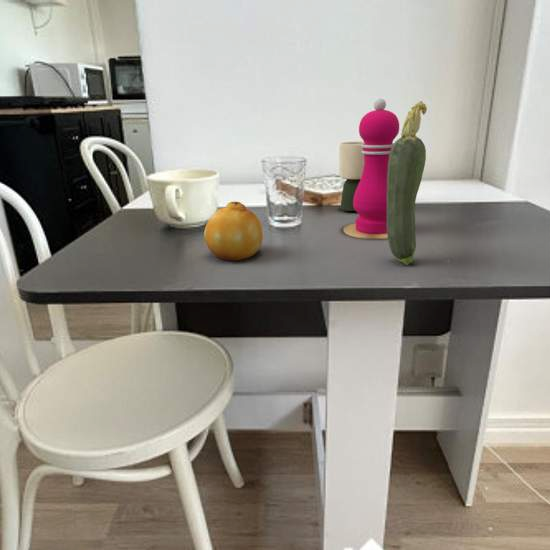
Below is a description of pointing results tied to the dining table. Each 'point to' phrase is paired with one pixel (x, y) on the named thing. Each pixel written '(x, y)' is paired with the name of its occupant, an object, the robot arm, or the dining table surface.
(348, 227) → the coaster
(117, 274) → the dining table surface
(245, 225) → the fruit
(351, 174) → the character mug
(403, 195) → the vegetable
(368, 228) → the pepper mill
